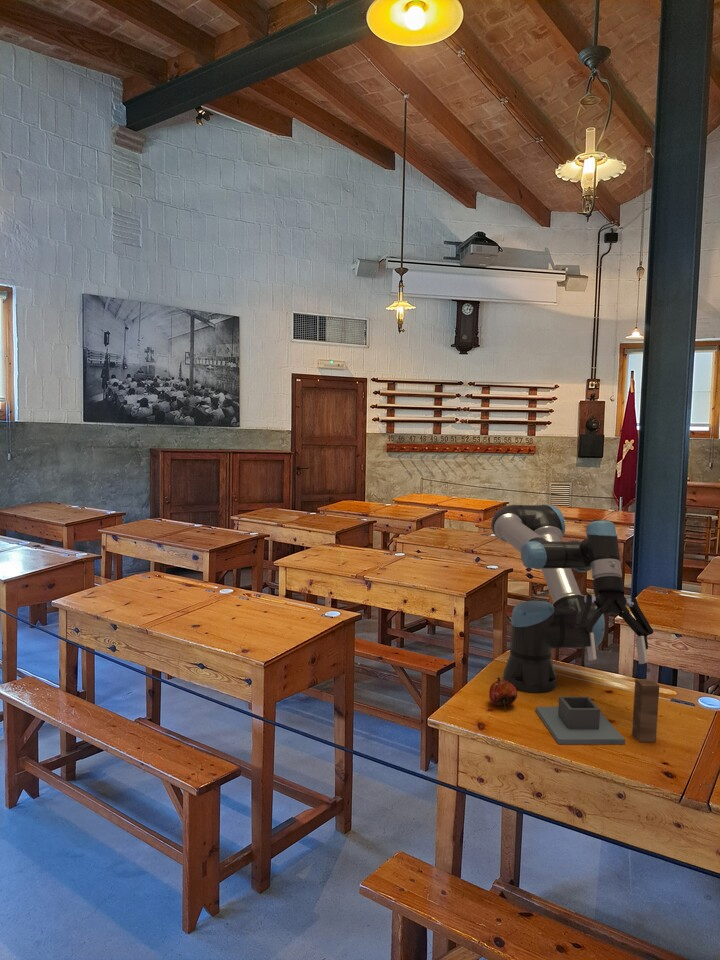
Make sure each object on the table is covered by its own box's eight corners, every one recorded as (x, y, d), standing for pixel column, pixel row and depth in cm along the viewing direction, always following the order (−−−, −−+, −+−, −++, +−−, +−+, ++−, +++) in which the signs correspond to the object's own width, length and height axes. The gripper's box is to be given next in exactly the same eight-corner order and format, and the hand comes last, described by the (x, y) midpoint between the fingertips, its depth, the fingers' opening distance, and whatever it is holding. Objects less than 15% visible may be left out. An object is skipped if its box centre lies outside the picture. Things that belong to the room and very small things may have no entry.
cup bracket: (535, 711, 176) (536, 688, 175) (595, 711, 177) (596, 688, 176) (558, 744, 158) (559, 719, 157) (624, 744, 159) (626, 719, 158)
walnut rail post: (632, 734, 164) (635, 679, 163) (648, 734, 164) (651, 679, 163) (639, 742, 160) (642, 685, 159) (655, 742, 160) (659, 685, 159)
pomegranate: (519, 718, 176) (515, 684, 184) (519, 704, 172) (515, 670, 179) (491, 719, 178) (487, 685, 185) (490, 705, 173) (487, 671, 180)
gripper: (568, 571, 169) (577, 656, 161) (659, 578, 173) (673, 662, 164) (556, 579, 176) (564, 661, 167) (643, 585, 180) (655, 666, 171)
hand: (618, 661), depth 166 cm, fingers open, 13 cm apart
